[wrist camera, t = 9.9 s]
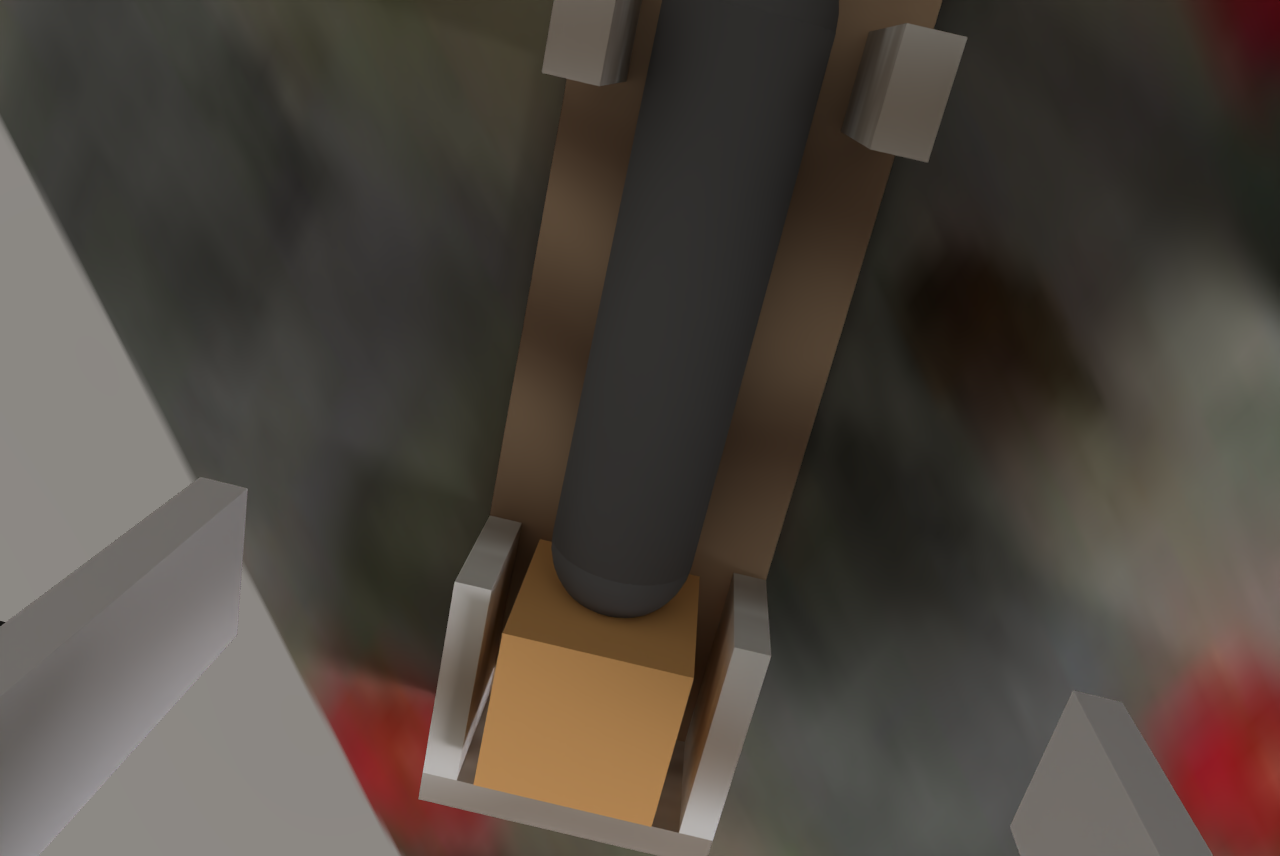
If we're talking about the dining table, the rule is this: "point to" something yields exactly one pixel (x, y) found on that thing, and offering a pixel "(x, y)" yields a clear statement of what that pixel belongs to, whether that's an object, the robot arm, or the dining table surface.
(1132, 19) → the dining table surface
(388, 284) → the dining table surface
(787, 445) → the wooden stand
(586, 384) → the grey handled block hammer
